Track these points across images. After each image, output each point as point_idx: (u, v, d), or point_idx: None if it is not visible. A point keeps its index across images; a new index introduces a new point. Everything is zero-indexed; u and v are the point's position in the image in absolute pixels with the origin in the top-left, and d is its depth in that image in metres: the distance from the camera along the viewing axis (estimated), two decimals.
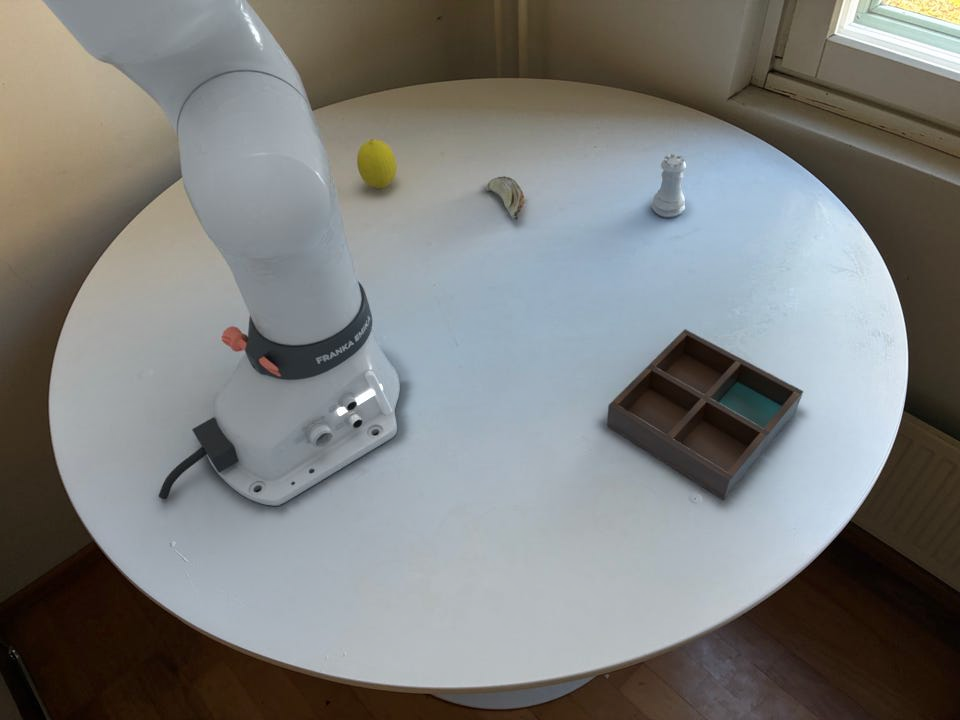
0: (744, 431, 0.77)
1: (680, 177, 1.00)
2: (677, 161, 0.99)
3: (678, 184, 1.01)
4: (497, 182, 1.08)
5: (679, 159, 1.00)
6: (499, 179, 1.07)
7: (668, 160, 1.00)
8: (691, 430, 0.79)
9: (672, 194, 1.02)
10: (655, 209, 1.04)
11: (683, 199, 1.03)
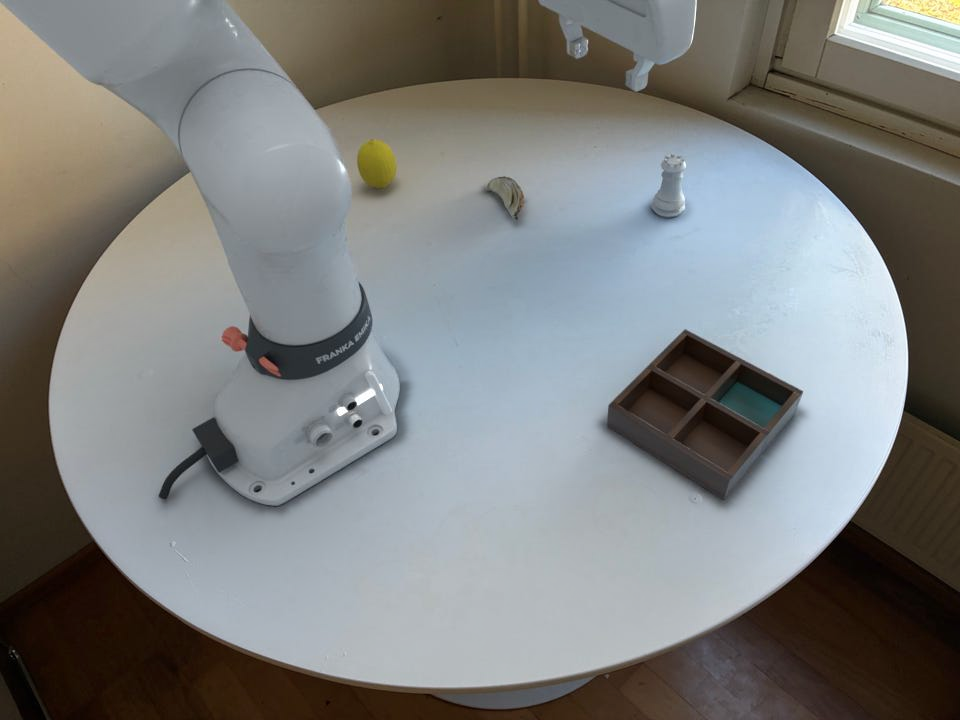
0: (744, 431, 0.77)
1: (680, 177, 1.00)
2: (677, 161, 0.99)
3: (678, 184, 1.01)
4: (497, 182, 1.08)
5: (679, 159, 1.00)
6: (499, 179, 1.07)
7: (668, 160, 1.00)
8: (691, 430, 0.79)
9: (672, 194, 1.02)
10: (655, 209, 1.04)
11: (683, 199, 1.03)
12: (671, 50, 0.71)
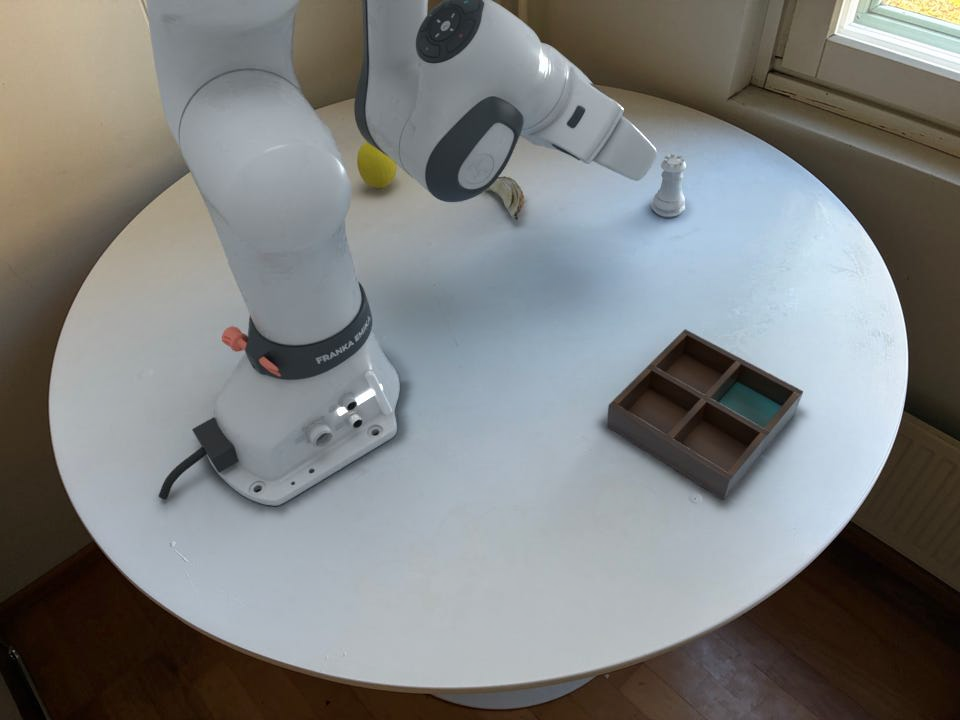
0: (744, 431, 0.77)
1: (680, 177, 1.00)
2: (677, 161, 0.99)
3: (678, 184, 1.01)
4: (497, 182, 1.08)
5: (679, 159, 1.00)
6: (499, 179, 1.07)
7: (668, 160, 1.00)
8: (691, 430, 0.79)
9: (672, 194, 1.02)
10: (655, 209, 1.04)
11: (683, 199, 1.03)
12: (640, 173, 0.80)
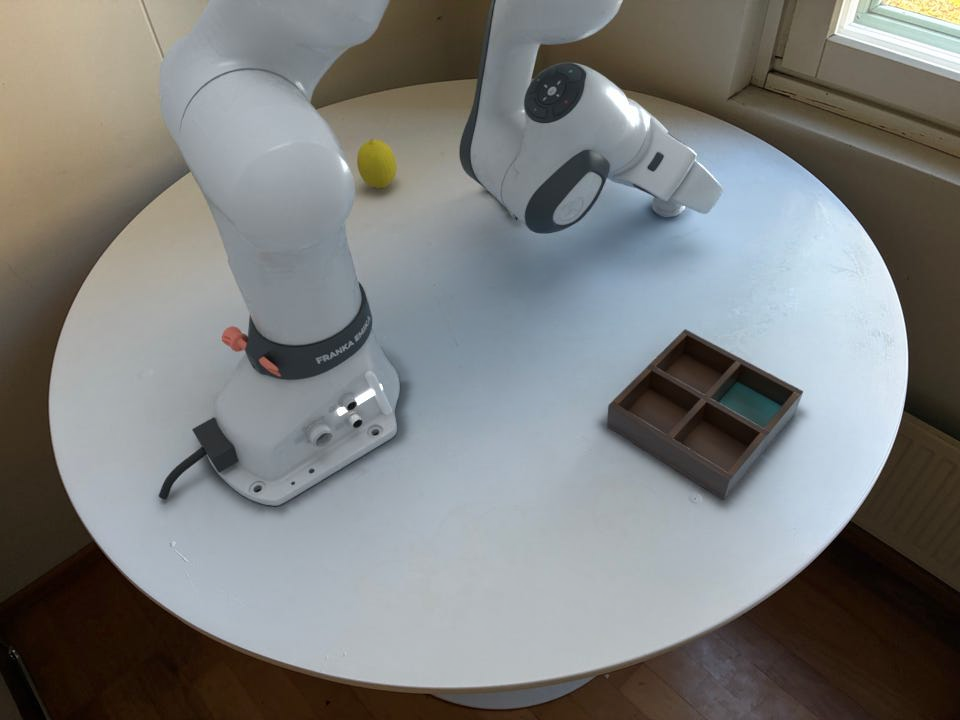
0: (744, 431, 0.77)
1: None
2: None
3: None
4: None
5: None
6: None
7: None
8: (691, 430, 0.79)
9: None
10: (655, 209, 1.04)
11: None
12: (708, 208, 0.92)
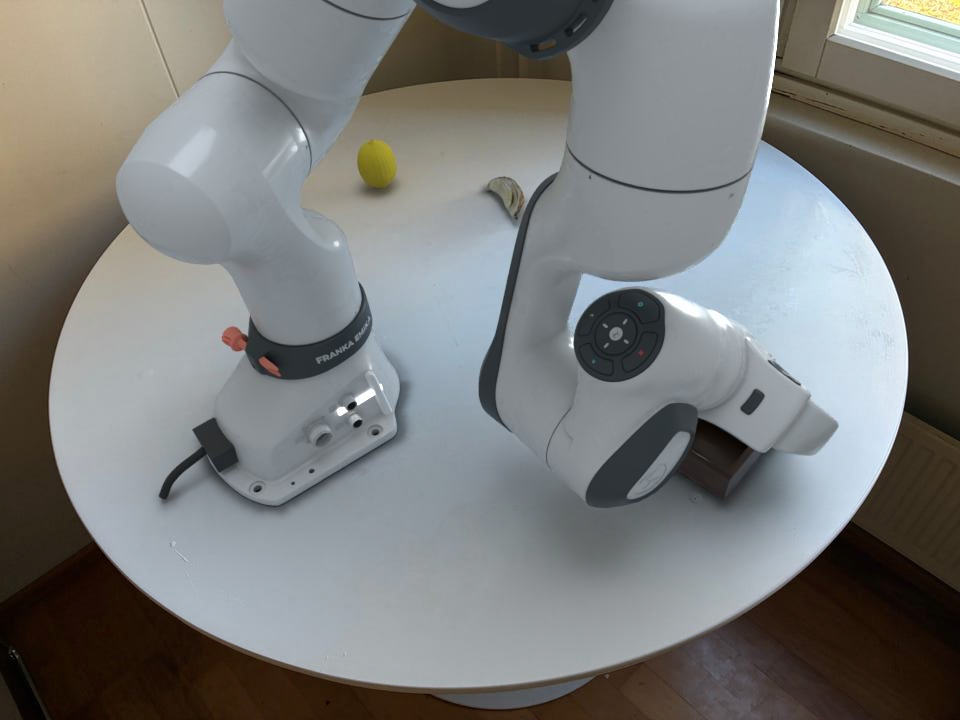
0: None
1: None
2: None
3: None
4: (497, 182, 1.08)
5: None
6: (499, 179, 1.07)
7: None
8: None
9: None
10: None
11: None
12: (818, 449, 0.67)
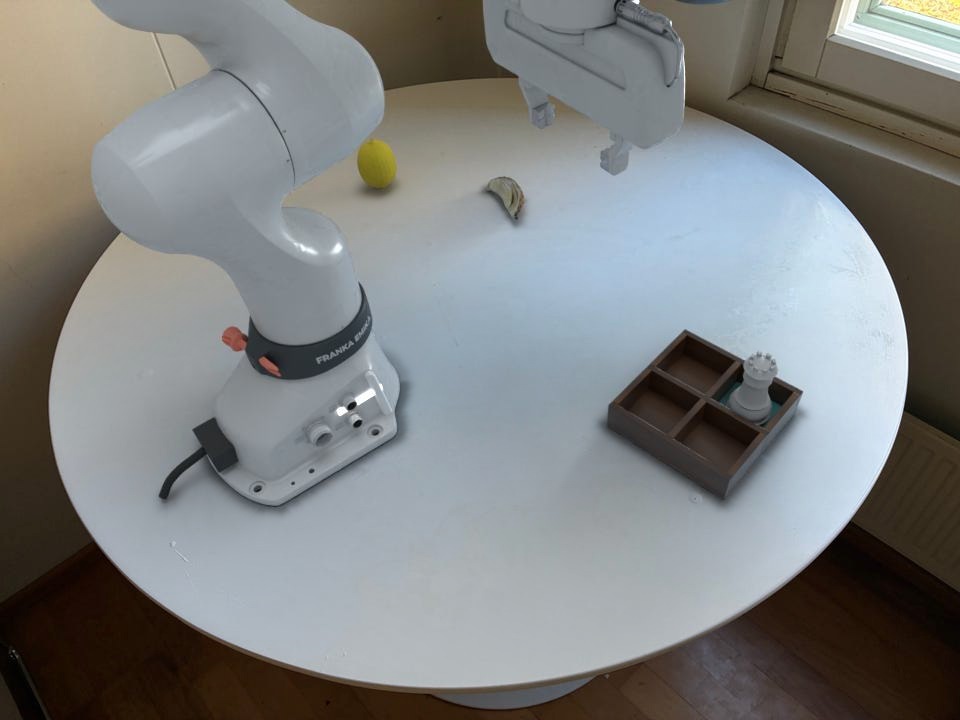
0: (744, 431, 0.77)
1: (769, 383, 0.76)
2: (766, 364, 0.75)
3: (765, 390, 0.76)
4: (497, 182, 1.08)
5: (768, 360, 0.75)
6: (499, 179, 1.07)
7: (754, 362, 0.75)
8: (691, 430, 0.79)
9: (757, 402, 0.77)
10: None
11: (770, 404, 0.79)
12: None
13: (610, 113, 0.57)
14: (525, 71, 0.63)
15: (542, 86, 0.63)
